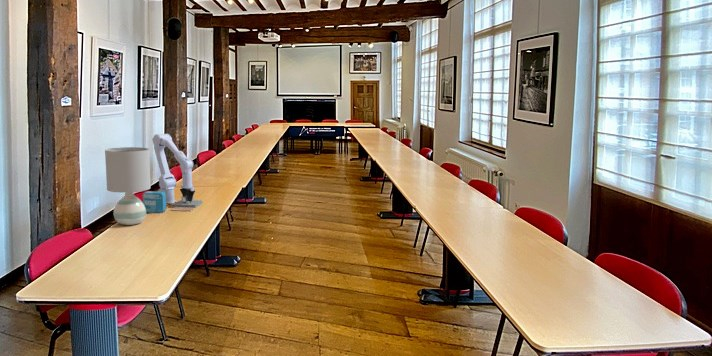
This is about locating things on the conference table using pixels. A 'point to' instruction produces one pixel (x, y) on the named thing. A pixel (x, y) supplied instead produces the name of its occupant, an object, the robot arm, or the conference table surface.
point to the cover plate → (188, 204)
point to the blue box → (154, 202)
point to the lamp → (128, 181)
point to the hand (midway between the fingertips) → (187, 200)
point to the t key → (186, 199)
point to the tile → (182, 209)
